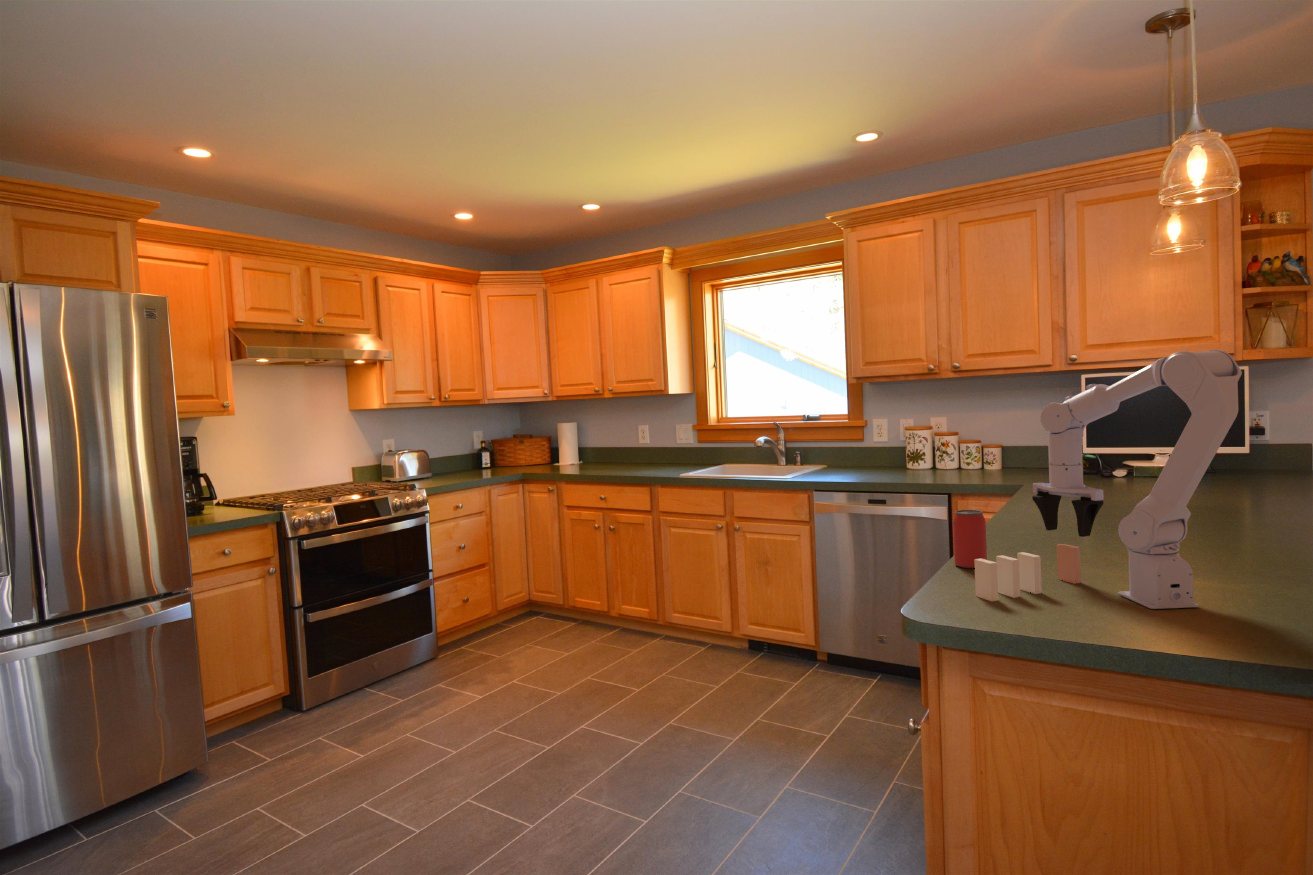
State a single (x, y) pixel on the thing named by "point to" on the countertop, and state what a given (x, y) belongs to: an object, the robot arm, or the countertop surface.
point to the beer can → (969, 537)
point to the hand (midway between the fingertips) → (1067, 532)
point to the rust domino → (1068, 563)
